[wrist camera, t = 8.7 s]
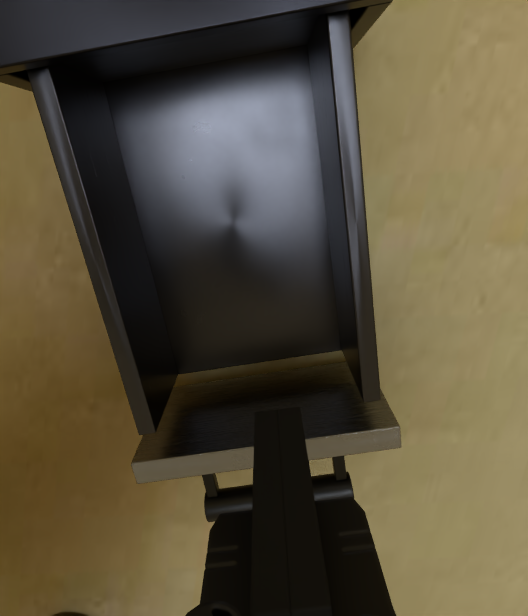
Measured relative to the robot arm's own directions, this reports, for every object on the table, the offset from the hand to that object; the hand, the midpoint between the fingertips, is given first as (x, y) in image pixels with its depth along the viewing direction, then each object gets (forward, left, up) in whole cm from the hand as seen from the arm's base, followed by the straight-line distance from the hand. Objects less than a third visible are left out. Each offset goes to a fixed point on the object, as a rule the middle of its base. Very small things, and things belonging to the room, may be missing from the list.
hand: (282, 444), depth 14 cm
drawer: (-1, +2, -11) cm, 11 cm away
